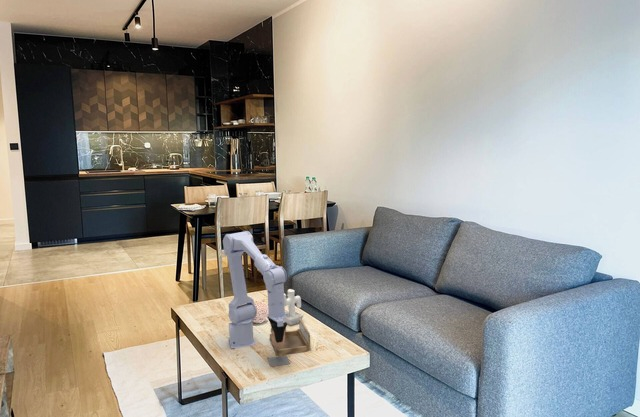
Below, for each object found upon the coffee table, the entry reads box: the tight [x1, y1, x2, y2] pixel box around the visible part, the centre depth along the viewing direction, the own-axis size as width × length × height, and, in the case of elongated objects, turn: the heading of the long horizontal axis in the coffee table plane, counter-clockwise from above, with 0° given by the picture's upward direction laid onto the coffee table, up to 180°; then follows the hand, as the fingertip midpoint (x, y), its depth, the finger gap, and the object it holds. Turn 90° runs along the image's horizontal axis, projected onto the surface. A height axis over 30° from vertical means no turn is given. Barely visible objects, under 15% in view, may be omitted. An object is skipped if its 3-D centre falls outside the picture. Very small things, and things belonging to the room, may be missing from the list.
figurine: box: [283, 288, 304, 326], centre depth 210 cm, size 7×9×15 cm
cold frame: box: [269, 328, 312, 356], centre depth 188 cm, size 13×16×6 cm
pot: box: [270, 327, 287, 347], centre depth 174 cm, size 5×5×6 cm
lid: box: [298, 318, 311, 352], centre depth 190 cm, size 1×15×8 cm, turn 15°
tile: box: [267, 354, 291, 367], centre depth 175 cm, size 7×7×1 cm
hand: (277, 338), depth 174 cm, fingers closed on pot, 5 cm apart
